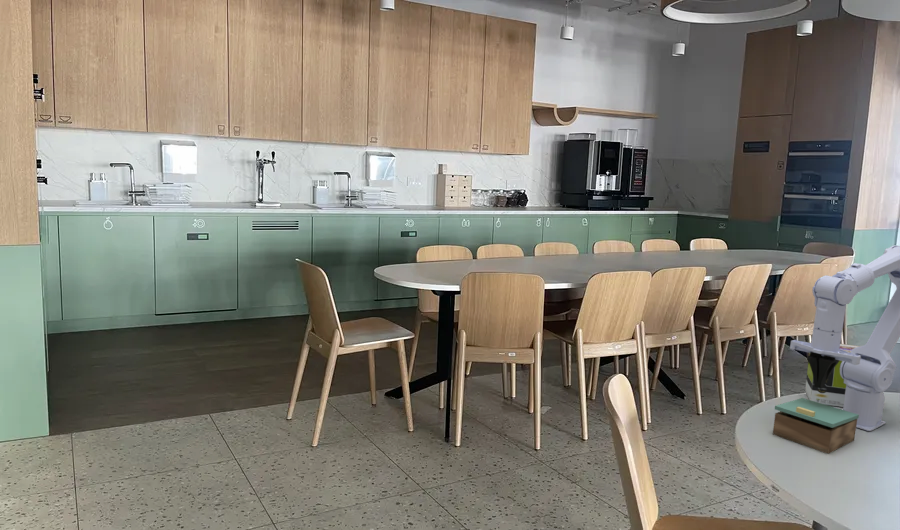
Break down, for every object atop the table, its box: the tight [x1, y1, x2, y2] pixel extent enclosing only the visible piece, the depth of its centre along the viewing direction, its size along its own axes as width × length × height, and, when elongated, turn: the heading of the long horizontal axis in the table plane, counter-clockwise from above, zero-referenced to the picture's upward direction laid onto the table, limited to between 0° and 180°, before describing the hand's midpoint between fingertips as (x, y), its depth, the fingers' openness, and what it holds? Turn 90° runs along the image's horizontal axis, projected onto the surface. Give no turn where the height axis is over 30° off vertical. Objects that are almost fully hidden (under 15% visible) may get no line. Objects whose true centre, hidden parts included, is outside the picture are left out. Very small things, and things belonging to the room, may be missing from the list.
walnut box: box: [772, 411, 857, 455], centre depth 153 cm, size 13×12×5 cm
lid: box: [774, 397, 859, 428], centre depth 152 cm, size 14×12×2 cm
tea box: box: [805, 343, 861, 408], centre depth 177 cm, size 15×10×15 cm, turn 69°
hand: (819, 386), depth 156 cm, fingers closed
